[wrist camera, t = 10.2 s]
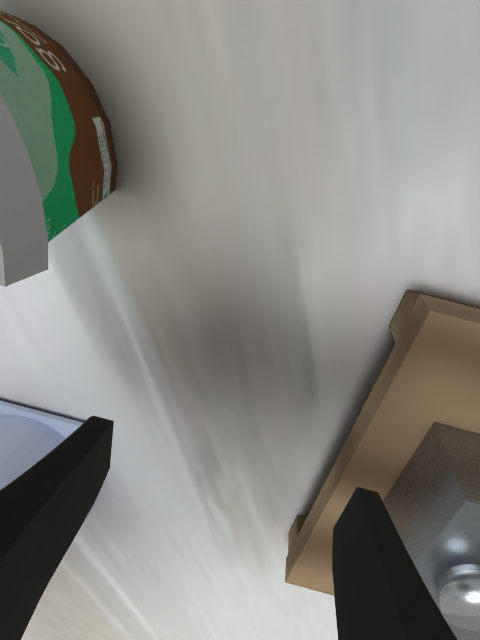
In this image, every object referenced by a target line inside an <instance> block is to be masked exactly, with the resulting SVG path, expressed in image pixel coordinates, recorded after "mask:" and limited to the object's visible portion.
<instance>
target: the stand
mask: <svg viewBox="0 0 480 640" xmlns="http://www.w3.org/2000/svg"><path fill="white" fill-rule="evenodd" d="M389 328H390V331H391V333H392V336H393V339H394V341H395V345H394V347H393V349H392V351H391V353H390V355H389V357H388V359H387V361H386V363H385V364H384V366H383V368H382V370H381V372H380V374H379V376H378V378H377V380H376V382H375V384H374V386H373V388H372V390H371V392H370V394H369V396H368V398H367V400H366V402H365V404H364V406H363V408H362V410H361V412H360V414H359V416H358V418H357V420H356V422H355V424H354V426H353V428H352V430H351V432H350V434H349V435H348V437H347V439H346V441H345V443H344V445H343V447H342V449H341V451H340V453H339V455H338V457H337V459H336V461H335V463H334V465H333V467H332V469H331V471H330V473H329V475H328V477H327V479H326V481H325V483H324V485H323V487H322V489H321V491H320V493H319V495H318V497H317V499H316V501H315V503H314V504H313V506H312V508H311V510H310V512H309V514H308V516H307V518H306V517H302V516H298V515H297V517H296V519H295V521H294V523H293V525H292V527H291V529H290V532H289V547H288V556H287V558H286V576H285V582H286V583H290V584H293V585H297V586H301V587H305V588H308V589H312V590H316V591H319V592H323V593H327V594H330V595H334V584H333V572H332V544H333V528H334V526H335V524H336V522H337V521H338V519H339V517H340V515H341V514H342V512H343V510H344V509H345V507H346V505H347V503H348V502H349V500H350V498H351V496H352V495H353V493H354V491H355V489H356V488H357V487H360V488H364V489H368V490H372V491H375V492H378V493H379V495H380V497H381V499H382V501H383V500H384V499H385V497H386V496H387V494H388V493H389V491H390V490H391V488H392V486H393V485H394V483H395V482H396V480H397V479H398V477H399V476H400V474H401V472H402V471H403V469H404V468H405V466H406V465H407V463H408V462H409V460H410V458H411V457H412V455H413V454H414V452H415V451H416V449H417V448H418V446H419V444H420V443H421V441H422V440H423V438H424V437H425V435H426V434H427V432H428V431H429V429H430V427H431V426H432V424H433V423H434V422H438V423H442V424H446V425H449V426H453V427H457V428H461V429H464V430H468V431H472V432H476V433H479V434H480V309H479V308H475V307H472V306H468V305H464V304H460V303H456V302H453V301H449V300H445V299H441V298H437V297H434V296H430V295H426V294H422V293H418V292H415V291H411V290H406V292H405V294H404V296H403V299H402V301H401V303H400V305H399V307H398V309H397V311H396V313H395V315H394V317H393V319H392V321H391V323H390V325H389Z"/></svg>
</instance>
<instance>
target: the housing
mask: <svg viewBox="0 0 480 640" xmlns="http://www.w3.org/2000/svg"><path fill="white" fill-rule="evenodd" d="M383 503H384V505H385V507H386V509H387V511H388V513H389V515H390V517H391V519H392V522H393V524H394V526H395V528H396V530H397V532H398V534H399V536H400V538H401V540H402V542H403V544H404V546H405V548H406V550H407V551H408V553H409V555H410V557H411V559H412V561H413V563H414V565H415V567H416V569H417V570H418V572H419V574H420V576H421V578H422V580H423V582H424V583H425V585H426V587H427V589H428V591H429V592H430V594H431V596H432V598H433V600H434V601H435V603H436V605H437V606H438V608H439V610H440V612H441V613H442V615H443V617H444V618H445V620H446V622H447V623H448V625H449V627H450V628H451V630H452V632H453V633H454V635H455V636H456V638H457V640H480V434H479V433H476V432H472V431H468V430H464V429H461V428H457V427H453V426H449V425H446V424H442V423H438V422H434V423H433V424H432V426H431V427H430V429H429V431H428V432H427V434H426V435H425V437H424V438H423V440H422V441H421V443H420V444H419V446H418V448H417V449H416V451H415V452H414V454H413V455H412V457H411V458H410V460H409V462H408V463H407V465H406V466H405V468H404V469H403V471H402V472H401V474H400V476H399V477H398V479H397V480H396V482H395V483H394V485H393V486H392V488H391V490H390V491H389V493H388V494H387V496H386V497H385V499H384V500H383Z"/></svg>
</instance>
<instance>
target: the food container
mask: <svg viewBox="0 0 480 640" xmlns="http://www.w3.org/2000/svg"><path fill="white" fill-rule="evenodd" d="M116 170H117V160H116V155H115V149H114V143H113V138H112V132H111V126H110V122H109V120H108V118H107V116H106V113H105V111H104V109H103V107H102V105H101V102H100V100H99V98H98V96H97V94H96V91H95V89H94V87H93V85H92V83H91V81H90V80H89V79H88V78H87V76H86V75H85V74H84V73H83V71H82V70H81V69H80V68H79V66H78V65H77V64H76V63H75V61H74V60H73V59H72V58H71V56H70V55H69V54H68V53H67V51H66V50H65V49H64V48H63V47H62V46H61V45H59V44H58V43H57V42H55V41H54V40H53V39H51V38H50V37H49V36H47V35H46V34H45V33H43V32H42V31H41V30H39V29H38V28H37V27H35V26H33V25H31V24H29V23H27V22H25V21H23V20H21V19H19V18H16V17H14V16H12V15H9V14H7V13H4V12H2V11H0V285H2V286H8V285H10V284H13V283H15V282H18V281H20V280H22V279H25V278H27V277H30V276H32V275H35V274H37V273H40V272H42V271H45V270H47V269H48V242H49V241H50V240H52V239H53V238H54V237H55V236H57V235H58V234H59V233H61V232H62V231H63V230H64V229H66V228H67V227H68V226H70V225H71V224H72V223H73V222H75V221H76V220H77V219H79V218H80V217H81V216H83V215H84V214H85V213H86V212H88V211H89V210H90V209H92V208H93V207H94V206H95V205H97V204H98V203H99V202H101V201H102V200H103V199H104V198H106V197H107V196H108V195H110V194H111V193H112V192H113V191H115V184H116Z"/></svg>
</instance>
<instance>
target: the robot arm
mask: <svg viewBox="0 0 480 640" xmlns="http://www.w3.org/2000/svg"><path fill="white" fill-rule="evenodd" d="M113 423H114V421H111V420H107V419H104V418H100V417H96V416H92V417H89V418H88V419H87V420H86V421H85V422H84V423H83V422H79V421H75V420H71V419H68V418H64V417H60V416H56V415H53V414H49V413H45V412H42V411H38V410H34V409H30V408H27V407H23V406H19V405H16V404H12V403H8V402H4V401H1V400H0V640H21V638H22V636H23V634H24V632H25V629H26V627H27V625H28V623H29V621H30V619H31V617H32V615H33V613H34V610H35V608H36V606H37V604H38V602H39V600H40V598H41V596H42V594H43V592H44V590H45V588H46V587H47V585H48V583H49V581H50V579H51V577H52V576H53V574H54V572H55V571H56V569H57V567H58V565H59V564H60V562H61V560H62V558H63V557H64V555H65V553H66V551H67V550H68V548H69V546H70V544H71V543H72V541H73V539H74V538H75V536H76V534H77V532H78V531H79V529H80V527H81V525H82V524H83V522H84V520H85V519H86V518H87V516H88V514H89V511H90V510H91V508H92V506H93V504H94V502H95V500H96V498H97V496H98V494H99V491H100V489H101V487H102V485H103V482H104V480H105V478H106V475H107V473H108V471H109V468H110V458H111V446H112V434H113ZM332 572H333V584H334V596H335V607H336V618H337V629H338V640H457V638H456V636H455V635H454V633H453V632H452V630H451V628H450V627H449V625H448V623H447V622H446V620H445V618H444V617H443V615H442V613H441V612H440V610H439V608H438V606H437V605H436V603H435V601H434V600H433V598H432V596H431V594H430V592H429V591H428V589H427V587H426V585H425V583H424V582H423V580H422V578H421V576H420V574H419V572H418V570H417V569H416V567H415V565H414V563H413V561H412V559H411V557H410V555H409V553H408V551H407V550H406V548H405V546H404V544H403V542H402V540H401V538H400V536H399V534H398V532H397V530H396V528H395V526H394V524H393V522H392V519H391V517H390V515H389V513H388V511H387V509H386V507H385V505H384V503H383V501H382V499H381V497H380V495H379V493H378V492H375V491H372V490H368V489H364V488H360V487H357V488H356V489H355V491H354V493H353V495H352V496H351V498H350V500H349V502H348V503H347V505H346V507H345V509H344V510H343V512H342V514H341V515H340V517H339V519H338V521H337V522H336V524H335V526H334V528H333V544H332Z"/></svg>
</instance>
